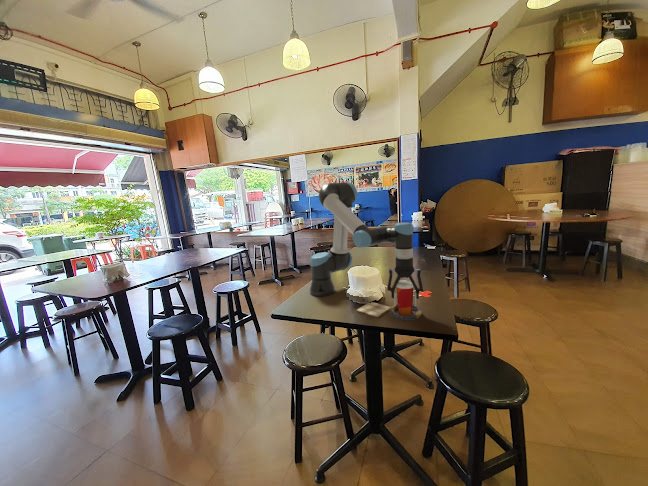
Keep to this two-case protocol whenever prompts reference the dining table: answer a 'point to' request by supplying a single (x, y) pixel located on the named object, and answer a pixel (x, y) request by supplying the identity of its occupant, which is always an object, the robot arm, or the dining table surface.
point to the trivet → (373, 309)
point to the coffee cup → (405, 297)
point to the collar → (405, 317)
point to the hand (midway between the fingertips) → (405, 304)
